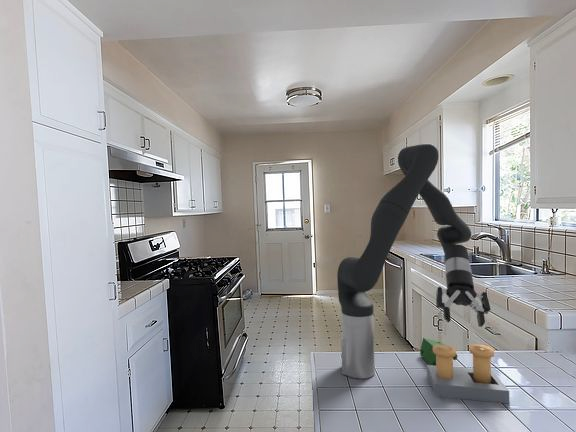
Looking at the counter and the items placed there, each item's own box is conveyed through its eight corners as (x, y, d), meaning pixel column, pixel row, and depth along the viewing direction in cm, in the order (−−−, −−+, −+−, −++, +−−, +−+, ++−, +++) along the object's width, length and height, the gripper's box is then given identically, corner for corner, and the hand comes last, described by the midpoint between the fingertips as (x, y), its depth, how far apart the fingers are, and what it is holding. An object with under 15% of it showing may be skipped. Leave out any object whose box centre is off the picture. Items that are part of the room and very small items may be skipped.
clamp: (449, 383, 96) (462, 360, 93) (429, 378, 96) (441, 356, 93) (435, 352, 108) (446, 331, 104) (417, 348, 107) (428, 327, 104)
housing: (435, 395, 81) (434, 355, 82) (427, 375, 92) (426, 340, 92) (509, 403, 78) (508, 361, 78) (492, 381, 88) (491, 344, 88)
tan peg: (473, 391, 83) (473, 351, 83) (467, 380, 88) (466, 343, 88) (498, 393, 81) (497, 353, 81) (490, 382, 87) (489, 345, 87)
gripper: (436, 266, 103) (440, 314, 94) (487, 271, 100) (496, 321, 90) (432, 278, 109) (435, 324, 99) (479, 283, 105) (488, 332, 96)
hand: (464, 323), depth 95 cm, fingers open, 8 cm apart
